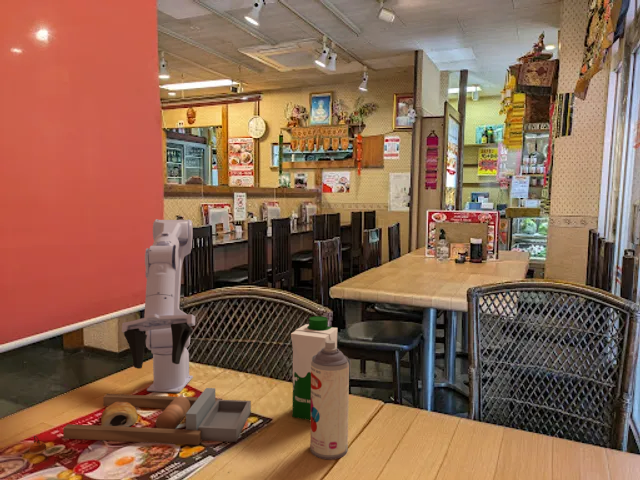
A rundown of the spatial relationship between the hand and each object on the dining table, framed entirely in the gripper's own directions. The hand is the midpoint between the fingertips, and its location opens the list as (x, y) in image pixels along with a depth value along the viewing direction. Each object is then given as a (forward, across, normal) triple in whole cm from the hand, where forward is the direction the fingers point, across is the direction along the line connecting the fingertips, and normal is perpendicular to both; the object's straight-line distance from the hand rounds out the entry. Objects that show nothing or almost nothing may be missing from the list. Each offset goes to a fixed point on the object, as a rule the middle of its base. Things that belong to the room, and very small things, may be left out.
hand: (156, 365), depth 91 cm
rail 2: (+13, -5, +2) cm, 14 cm away
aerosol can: (+18, +32, +3) cm, 37 cm away
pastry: (+9, -11, +8) cm, 16 cm away
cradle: (+12, +11, +8) cm, 18 cm away
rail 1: (+6, -4, +14) cm, 16 cm away
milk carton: (+11, +28, +15) cm, 34 cm away
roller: (+10, 0, +8) cm, 13 cm away
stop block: (+11, +6, +8) cm, 15 cm away
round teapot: (+13, -20, -3) cm, 24 cm away
